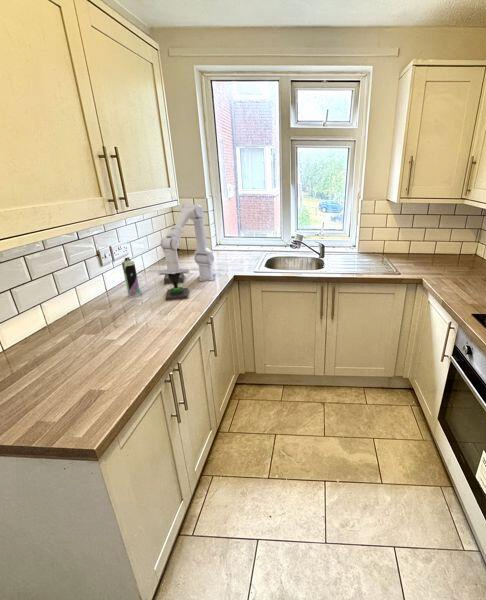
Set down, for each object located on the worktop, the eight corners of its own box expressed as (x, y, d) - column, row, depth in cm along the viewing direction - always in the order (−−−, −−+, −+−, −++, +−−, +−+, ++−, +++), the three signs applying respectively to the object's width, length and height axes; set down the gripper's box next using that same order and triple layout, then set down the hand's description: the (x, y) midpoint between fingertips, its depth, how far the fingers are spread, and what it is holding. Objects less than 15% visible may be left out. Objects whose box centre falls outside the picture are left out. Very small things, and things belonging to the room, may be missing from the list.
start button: (173, 289, 163) (172, 286, 162) (180, 289, 164) (180, 285, 163) (172, 292, 160) (172, 288, 159) (180, 291, 161) (179, 288, 160)
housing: (168, 292, 167) (167, 286, 165) (188, 290, 169) (187, 284, 168) (166, 300, 156) (164, 294, 155) (187, 298, 159) (186, 292, 157)
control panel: (166, 277, 189) (165, 272, 187) (184, 276, 191) (183, 271, 190) (164, 285, 177) (163, 279, 176) (183, 283, 180) (182, 278, 178)
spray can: (135, 297, 159) (127, 259, 151) (126, 296, 160) (118, 258, 152) (142, 293, 164) (135, 256, 156) (133, 292, 165) (126, 255, 157)
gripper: (155, 264, 150) (160, 291, 155) (187, 262, 154) (191, 288, 159) (157, 261, 156) (161, 286, 162) (188, 259, 160) (191, 284, 166)
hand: (176, 287), depth 161 cm, fingers closed, pressing on start button
